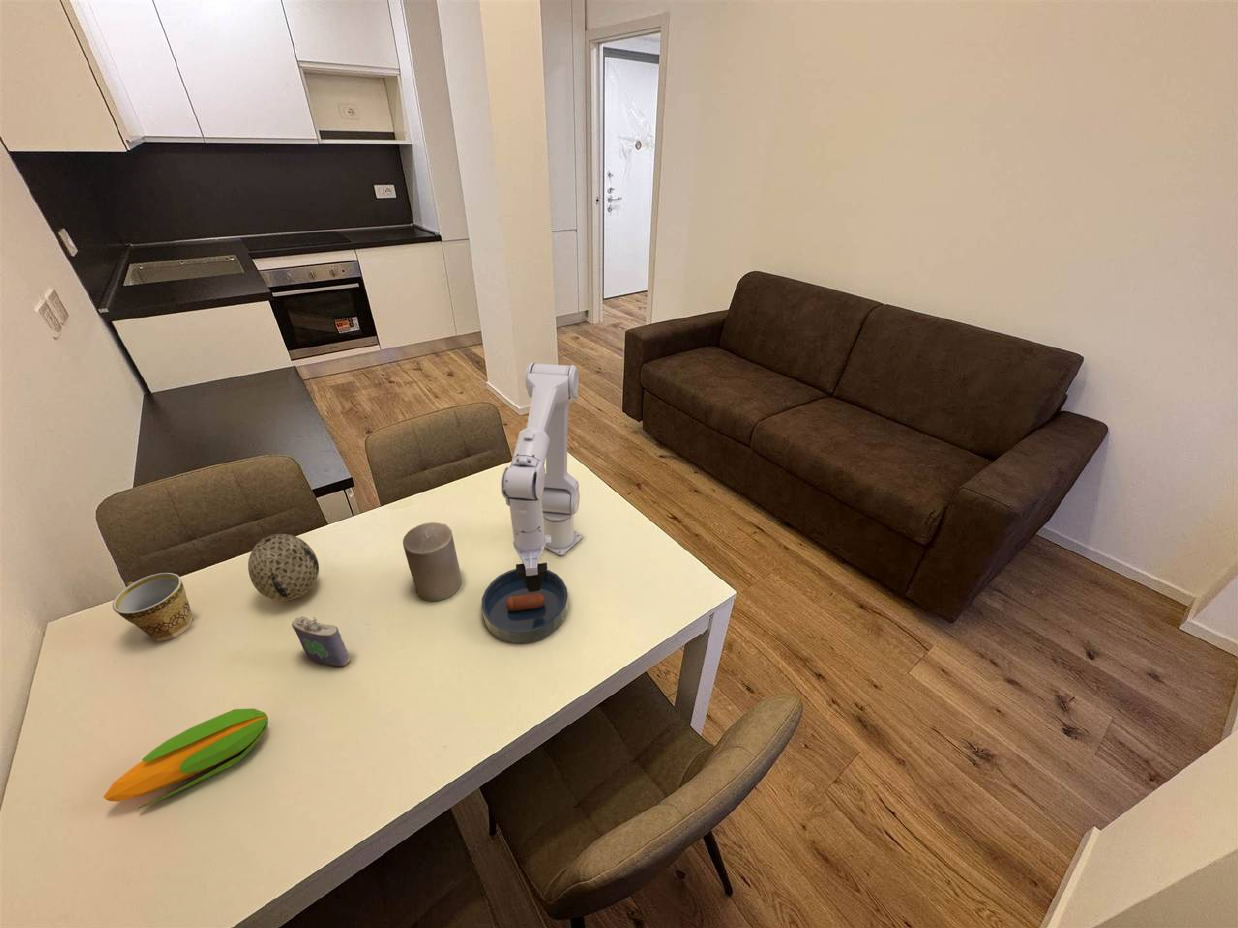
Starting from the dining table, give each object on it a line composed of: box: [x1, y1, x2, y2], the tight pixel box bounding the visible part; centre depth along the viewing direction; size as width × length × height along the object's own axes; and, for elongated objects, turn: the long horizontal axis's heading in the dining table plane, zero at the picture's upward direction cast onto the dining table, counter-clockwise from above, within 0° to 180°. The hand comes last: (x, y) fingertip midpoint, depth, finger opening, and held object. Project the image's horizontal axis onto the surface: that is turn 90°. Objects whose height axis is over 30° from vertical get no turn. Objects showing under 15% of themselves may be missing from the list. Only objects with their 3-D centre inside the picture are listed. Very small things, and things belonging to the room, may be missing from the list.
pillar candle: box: [402, 521, 462, 602], centre depth 106 cm, size 10×10×15 cm
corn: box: [102, 708, 269, 810], centre depth 76 cm, size 7×8×20 cm
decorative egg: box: [247, 533, 320, 602], centre depth 104 cm, size 12×12×15 cm
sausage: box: [506, 593, 545, 611], centre depth 104 cm, size 8×3×3 cm, turn 100°
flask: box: [291, 616, 352, 668], centre depth 92 cm, size 9×3×11 cm, turn 74°
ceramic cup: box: [112, 572, 194, 642], centre depth 98 cm, size 13×10×10 cm
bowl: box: [481, 568, 569, 645], centre depth 104 cm, size 17×17×4 cm
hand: (533, 575), depth 100 cm, fingers open, 7 cm apart
